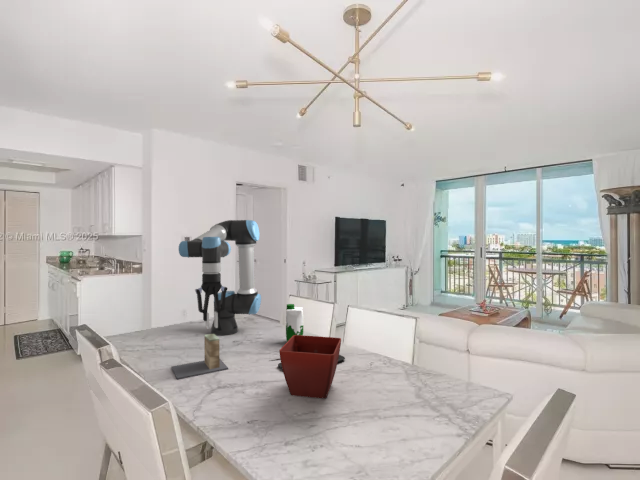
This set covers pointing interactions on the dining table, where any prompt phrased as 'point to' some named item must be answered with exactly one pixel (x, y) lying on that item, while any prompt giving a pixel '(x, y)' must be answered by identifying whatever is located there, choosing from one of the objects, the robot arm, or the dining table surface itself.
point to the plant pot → (310, 364)
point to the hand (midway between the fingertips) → (211, 327)
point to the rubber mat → (195, 369)
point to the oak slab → (212, 351)
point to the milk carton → (294, 321)
